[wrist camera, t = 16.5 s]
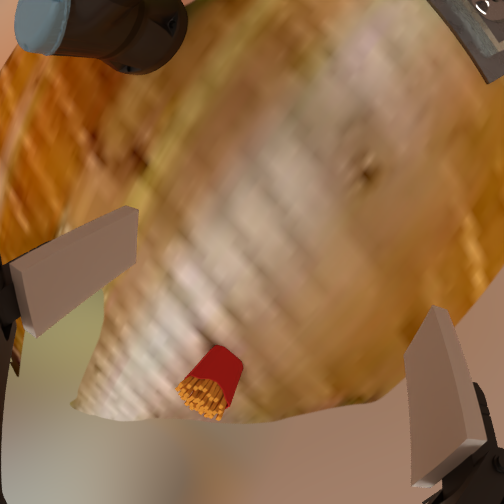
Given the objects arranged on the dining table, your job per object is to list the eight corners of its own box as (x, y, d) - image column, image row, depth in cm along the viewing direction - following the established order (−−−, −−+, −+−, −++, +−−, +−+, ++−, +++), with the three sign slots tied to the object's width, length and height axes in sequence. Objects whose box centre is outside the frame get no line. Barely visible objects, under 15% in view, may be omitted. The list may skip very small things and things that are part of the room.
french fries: (250, 368, 57) (226, 419, 46) (237, 377, 59) (212, 426, 48) (213, 336, 57) (181, 383, 45) (201, 347, 59) (169, 393, 47)
